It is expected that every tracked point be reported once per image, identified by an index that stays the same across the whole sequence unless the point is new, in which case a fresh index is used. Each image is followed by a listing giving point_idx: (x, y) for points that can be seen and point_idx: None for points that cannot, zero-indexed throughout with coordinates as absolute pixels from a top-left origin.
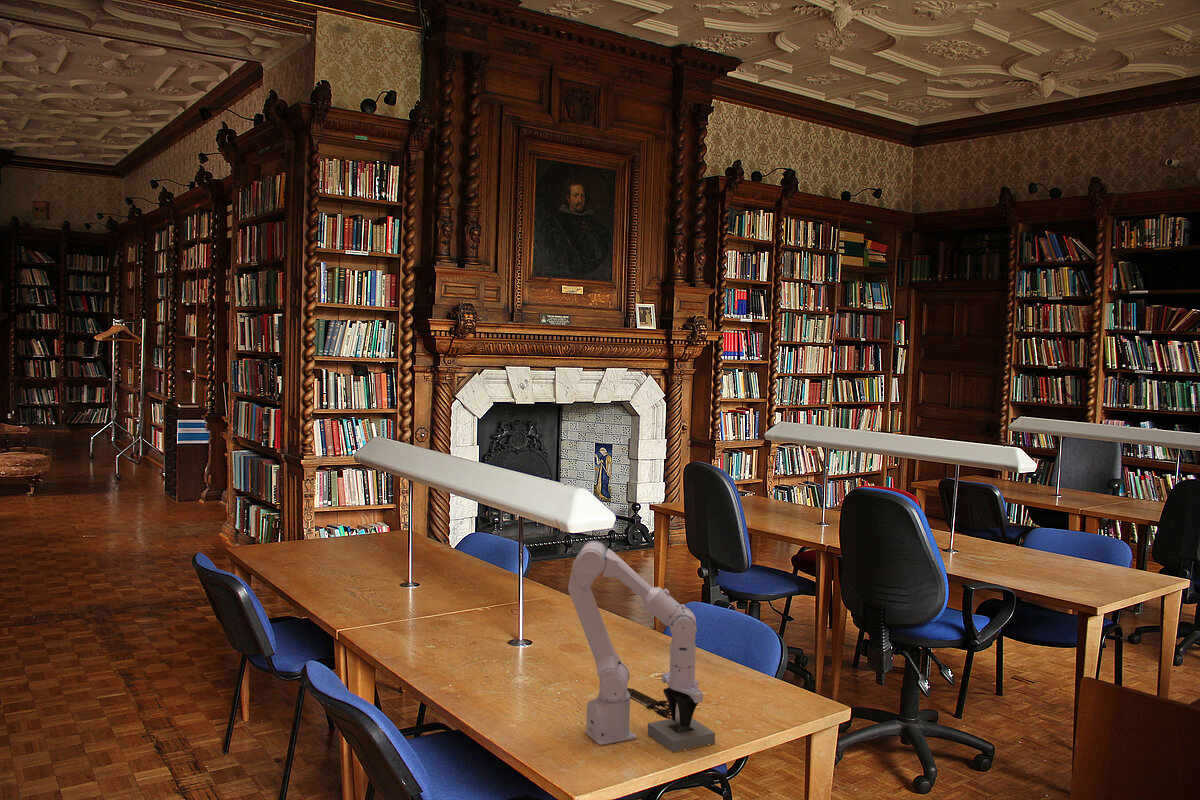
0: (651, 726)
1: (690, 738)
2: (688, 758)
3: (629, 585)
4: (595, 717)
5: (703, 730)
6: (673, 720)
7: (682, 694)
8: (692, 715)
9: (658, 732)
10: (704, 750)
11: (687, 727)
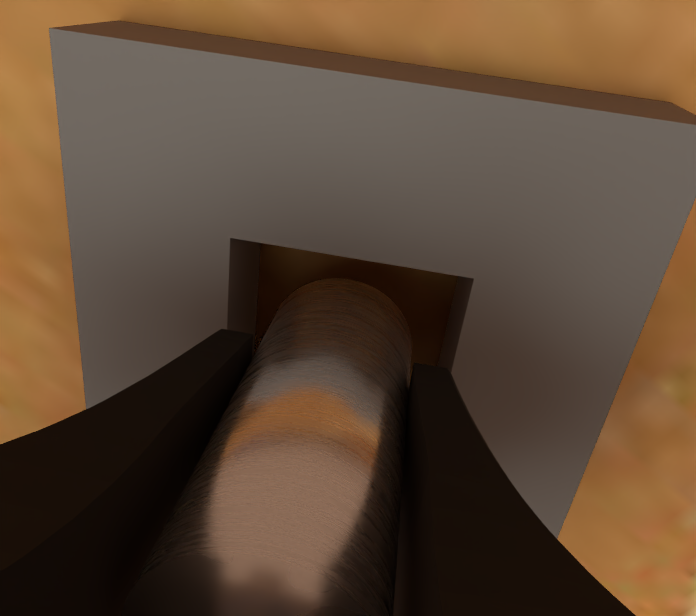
0: None
1: (592, 441)
2: (687, 494)
3: None
4: None
5: (553, 207)
6: None
7: (71, 603)
8: (488, 449)
9: None
10: (689, 299)
11: (403, 344)
